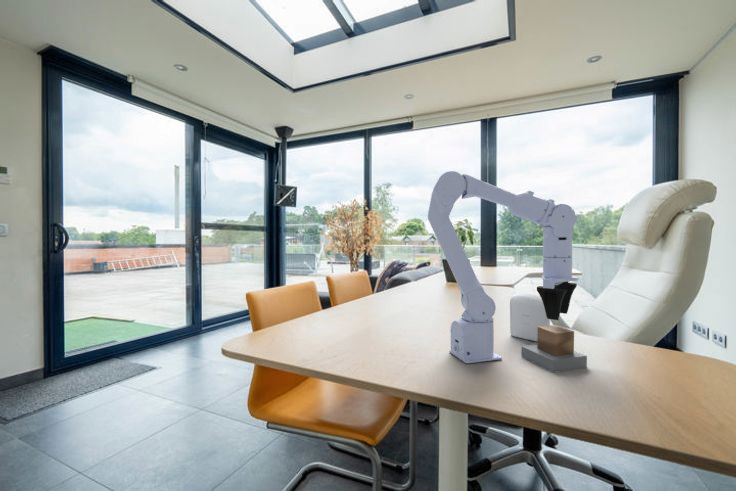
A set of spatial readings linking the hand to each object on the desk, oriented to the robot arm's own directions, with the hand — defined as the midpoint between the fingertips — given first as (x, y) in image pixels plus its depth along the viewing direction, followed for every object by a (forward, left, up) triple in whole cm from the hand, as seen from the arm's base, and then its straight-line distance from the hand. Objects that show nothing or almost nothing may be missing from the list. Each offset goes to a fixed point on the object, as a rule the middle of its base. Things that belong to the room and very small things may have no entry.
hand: (557, 315), depth 72 cm
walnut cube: (-2, -1, -8) cm, 8 cm away
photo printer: (+5, +14, -10) cm, 18 cm away
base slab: (-2, -1, -11) cm, 11 cm away
